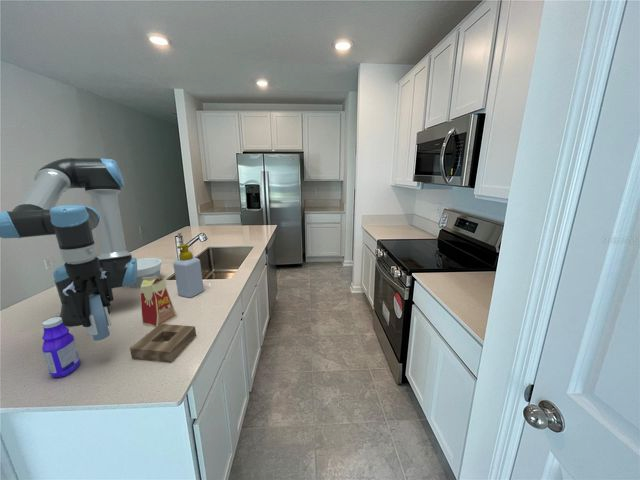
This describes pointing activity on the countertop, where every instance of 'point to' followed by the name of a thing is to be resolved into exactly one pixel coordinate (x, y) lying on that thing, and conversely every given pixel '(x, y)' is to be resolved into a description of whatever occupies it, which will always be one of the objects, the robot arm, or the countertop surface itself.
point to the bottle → (59, 348)
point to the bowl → (146, 270)
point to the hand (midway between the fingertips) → (99, 329)
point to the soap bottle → (188, 273)
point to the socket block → (157, 349)
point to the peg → (98, 317)
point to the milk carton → (156, 302)
